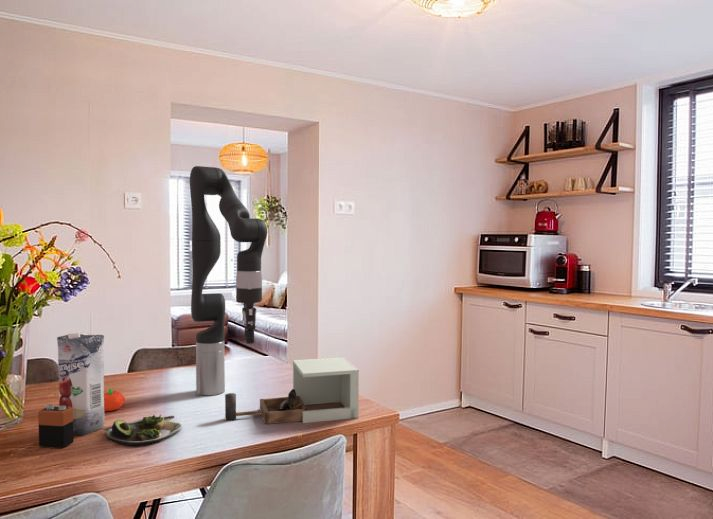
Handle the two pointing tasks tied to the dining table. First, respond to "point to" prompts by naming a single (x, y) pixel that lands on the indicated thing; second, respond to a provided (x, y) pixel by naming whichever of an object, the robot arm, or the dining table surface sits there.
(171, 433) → the salad plate
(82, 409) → the juice carton
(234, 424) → the dining table surface
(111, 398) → the tomato
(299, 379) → the cubby
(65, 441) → the battery
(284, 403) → the eagle figurine
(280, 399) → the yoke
